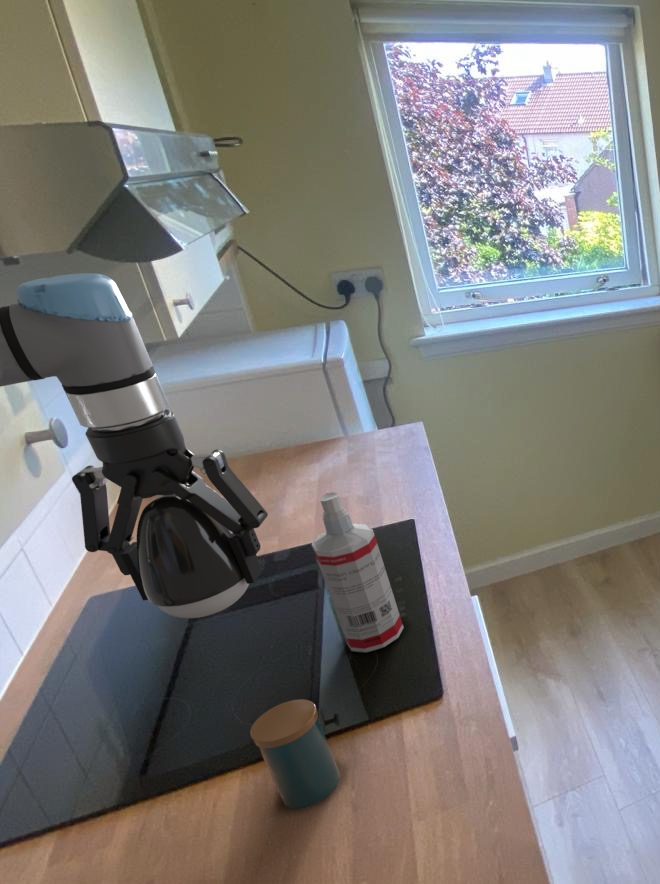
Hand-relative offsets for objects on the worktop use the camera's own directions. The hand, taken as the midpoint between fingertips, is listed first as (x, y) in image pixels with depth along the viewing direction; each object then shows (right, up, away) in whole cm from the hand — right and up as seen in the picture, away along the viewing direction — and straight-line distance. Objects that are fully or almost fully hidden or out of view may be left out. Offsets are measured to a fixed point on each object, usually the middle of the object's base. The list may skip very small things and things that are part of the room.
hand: (204, 585), depth 89 cm
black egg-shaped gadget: (0, -3, +1) cm, 3 cm away
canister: (+14, -24, -1) cm, 28 cm away
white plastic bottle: (+7, -13, +25) cm, 29 cm away
